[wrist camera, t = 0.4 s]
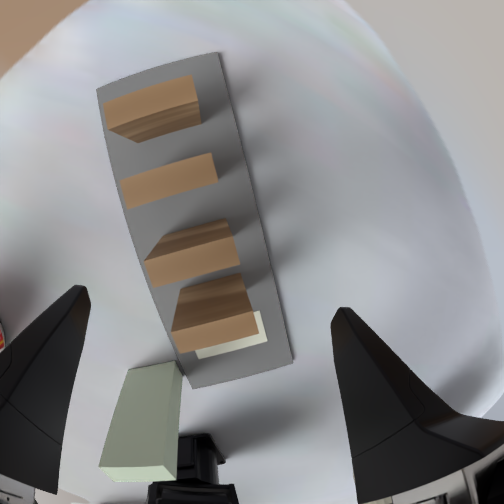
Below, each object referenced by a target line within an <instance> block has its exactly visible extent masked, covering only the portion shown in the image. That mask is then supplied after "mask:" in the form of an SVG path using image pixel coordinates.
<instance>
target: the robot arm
mask: <svg viewBox="0 0 504 504" xmlns="http://www.w3.org/2000/svg"><path fill="white" fill-rule="evenodd" d="M90 309H91V302H90V298H89V295H88V291H87V288H86V287H85V286H82V285H74V286H73V287H72V288H70V289H69V290H68V291H67V292H66V293H64V294H63V295H62V296H61V297H60V298H59V299H57V300H56V301H55V302H54V303H53V304H52V305H51V306H49V307H48V308H47V309H46V310H45V311H44V312H43V313H42V314H40V315H39V316H38V317H37V318H36V319H35V320H34V321H33V322H32V323H31V324H30V325H28V326H27V327H26V328H25V329H24V330H23V331H22V332H21V333H20V334H19V335H18V336H17V337H16V338H15V339H14V340H13V341H12V342H11V343H10V344H8V345H7V346H6V347H5V348H4V349H3V350H2V351H1V352H0V504H38V503H37V501H36V500H35V498H34V496H35V488H37V489H40V490H43V491H46V492H49V493H52V494H55V495H57V491H58V479H59V468H60V459H61V451H62V443H63V437H64V430H65V424H66V419H67V413H68V408H69V403H70V399H71V394H72V389H73V385H74V381H75V377H76V373H77V369H78V365H79V361H80V357H81V353H82V350H83V346H84V341H85V335H86V330H87V324H88V319H89V314H90ZM331 335H332V345H333V355H334V363H335V369H336V374H337V379H338V384H339V389H340V394H341V399H342V404H343V410H344V415H345V421H346V426H347V432H348V438H349V444H350V450H351V457H352V464H353V471H354V478H355V485H356V493H357V501H358V504H364V503H368V502H372V501H376V500H380V499H384V498H387V497H391V500H392V503H390V504H504V421H495V420H489V419H483V418H477V417H471V416H466V415H463V414H460V413H458V412H456V411H455V410H453V409H452V408H451V407H450V406H449V405H447V404H446V403H445V402H444V401H443V400H442V399H441V398H440V397H439V396H437V395H436V394H435V393H434V392H433V391H432V390H431V389H430V388H429V387H428V386H426V385H425V384H424V383H423V382H422V381H421V380H420V379H419V378H418V377H417V376H416V374H415V373H414V372H413V371H412V370H410V368H409V367H408V366H407V365H406V364H405V363H404V362H403V361H402V360H401V359H400V358H399V357H398V356H397V355H396V354H395V353H394V352H393V351H392V349H391V348H390V347H389V346H388V345H387V344H386V343H385V342H384V341H383V340H382V339H381V338H380V337H379V336H378V335H377V334H376V333H375V332H374V331H373V330H372V329H371V328H370V327H369V326H368V325H367V324H366V323H365V322H364V321H363V320H362V319H361V318H360V317H359V316H358V315H357V314H356V313H355V312H354V311H353V310H352V309H351V308H349V307H340V308H339V309H338V310H337V312H336V314H335V316H334V317H333V319H332V321H331ZM206 437H207V438H206ZM224 463H226V461H225V458H224V456H223V455H222V453H221V452H220V450H219V448H218V447H217V445H216V443H215V442H214V440H213V438H212V437H211V435H210V434H201V435H195V436H189V437H182V438H178V450H177V476H176V480H170V481H153V484H151V485H149V487H148V496H147V500H146V503H145V504H239V502H238V498H237V494H236V490H235V486H234V484H229V485H220V484H219V478H218V467H217V465H220V464H224Z"/></svg>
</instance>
